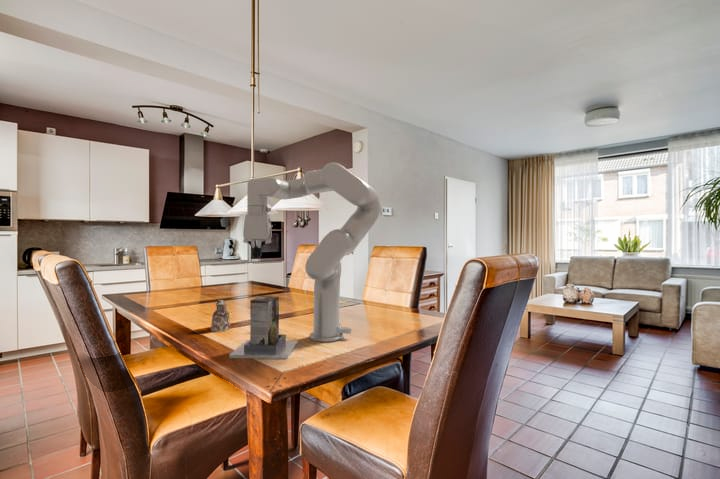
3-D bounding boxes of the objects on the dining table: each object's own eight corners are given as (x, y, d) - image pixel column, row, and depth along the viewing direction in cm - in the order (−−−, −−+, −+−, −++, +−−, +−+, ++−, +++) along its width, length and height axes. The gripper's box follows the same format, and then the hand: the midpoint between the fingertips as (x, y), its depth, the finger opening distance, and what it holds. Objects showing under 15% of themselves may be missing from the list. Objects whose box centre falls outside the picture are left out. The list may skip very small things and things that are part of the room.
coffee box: (261, 342, 122) (261, 295, 122) (279, 343, 121) (279, 296, 121) (249, 351, 113) (249, 300, 113) (268, 352, 112) (268, 300, 112)
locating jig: (298, 343, 125) (298, 333, 125) (287, 358, 109) (287, 347, 109) (247, 342, 125) (247, 332, 125) (229, 358, 109) (229, 346, 109)
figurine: (212, 332, 139) (212, 301, 139) (209, 328, 145) (209, 299, 145) (231, 330, 142) (231, 300, 142) (227, 326, 148) (228, 297, 148)
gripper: (278, 211, 143) (278, 257, 143) (241, 211, 143) (241, 257, 143) (273, 210, 135) (273, 258, 135) (234, 210, 136) (234, 258, 136)
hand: (257, 257), depth 139 cm, fingers closed
